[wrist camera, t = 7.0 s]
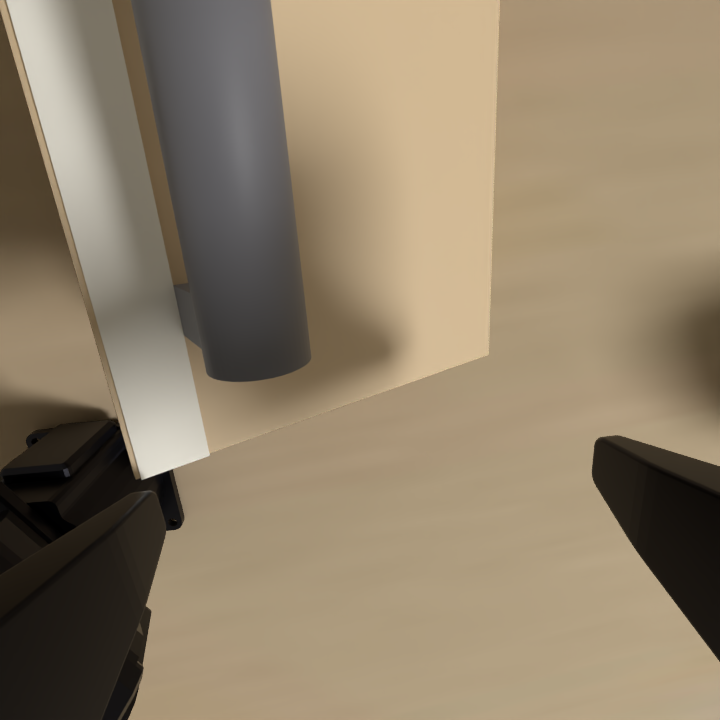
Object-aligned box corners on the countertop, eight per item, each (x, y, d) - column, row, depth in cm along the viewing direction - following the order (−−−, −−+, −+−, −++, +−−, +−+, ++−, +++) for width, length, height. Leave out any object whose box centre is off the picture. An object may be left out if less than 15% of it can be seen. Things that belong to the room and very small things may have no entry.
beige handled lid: (477, 351, 15) (598, 385, 12) (132, 469, 9) (174, 602, 6) (488, -143, 11) (685, -315, 7) (-147, -498, 5) (-579, -2058, 2)
